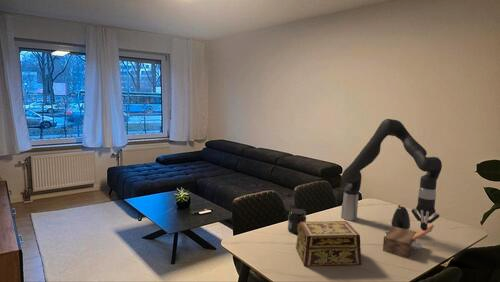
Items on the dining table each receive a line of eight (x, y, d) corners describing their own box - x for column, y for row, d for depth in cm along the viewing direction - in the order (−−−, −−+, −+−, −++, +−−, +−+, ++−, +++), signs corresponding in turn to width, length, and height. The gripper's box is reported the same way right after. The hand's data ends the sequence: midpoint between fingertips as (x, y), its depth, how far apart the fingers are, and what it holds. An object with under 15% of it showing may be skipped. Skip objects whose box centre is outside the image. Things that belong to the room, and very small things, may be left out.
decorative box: (346, 247, 169) (348, 220, 167) (361, 265, 150) (363, 235, 148) (295, 248, 166) (296, 220, 164) (304, 267, 148) (305, 236, 146)
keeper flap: (412, 238, 160) (429, 229, 155) (415, 233, 167) (432, 224, 161) (413, 240, 160) (431, 231, 155) (416, 235, 166) (433, 226, 161)
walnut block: (382, 250, 165) (383, 236, 164) (391, 238, 179) (392, 225, 178) (408, 258, 158) (410, 243, 157) (416, 245, 172) (417, 231, 171)
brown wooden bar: (383, 244, 171) (384, 234, 170) (386, 240, 175) (387, 230, 174) (418, 254, 160) (420, 243, 159) (421, 250, 165) (422, 239, 164)
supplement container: (309, 233, 185) (310, 213, 184) (293, 235, 181) (294, 215, 180) (299, 226, 195) (300, 207, 193) (284, 228, 191) (285, 209, 189)
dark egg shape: (405, 227, 195) (407, 204, 193) (412, 235, 185) (414, 210, 183) (388, 227, 196) (390, 203, 194) (394, 234, 186) (396, 209, 184)
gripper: (410, 195, 159) (407, 228, 161) (441, 201, 151) (437, 235, 153) (413, 192, 165) (410, 224, 167) (443, 197, 157) (439, 230, 159)
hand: (423, 229), depth 160 cm, fingers closed
